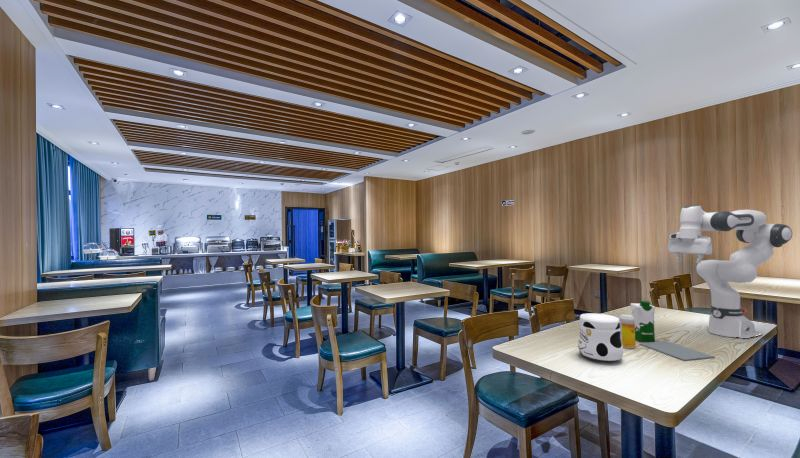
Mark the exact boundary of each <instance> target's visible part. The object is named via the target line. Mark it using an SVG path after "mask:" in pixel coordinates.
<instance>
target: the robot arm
mask: <svg viewBox="0 0 800 458" xmlns="http://www.w3.org/2000/svg"><path fill="white" fill-rule="evenodd" d="M766 215H767V214H765V213H764V212H762V211H760V210H755V209H754V210H753V209H737V210H733V211H729V210H728V211H726V210H725V211H715V212H714V211H713V212H706V211H704V210H703V209H702V206H701V205H699V204H695V205H694V204H693V205H685V206H683V207H682V208H681V211H680V215H679V223H680V224H679V225H680V227H679V230H678V231H677V232H675V233H672V234H669V240H668V244H667V251H668V252H669V253H674V256H675V258H676V262H680V263H681V262H683V258H681V255H682V254H690V255H691V254H692V255H697V258H696V259H695V260H694V263H695V264H696V269H695V270H696V273H697V274H698V276H699V277H701V278H702V279H703V280H704V281H705V282H706V285H707V286H708V288H709V290H710V297H711V305H710V308H709V309H710V313H711V314H710V315H709V319H708V326H706V330H708V332H709V333H711V334H714V335H717V336H722V337H728V338H736V337H739V338H738V339H743V338H749V337H753V336H756V335H759V334H762V333H761V332H759V331H756V326H755V324H754V322H753V321H751V320H750V319H748V317H746V316H745V315H744V313H746V314H747V312H748V309H747V308H741V295H740V292H738V291H737V290H736V289H734V288H733V287H732V286H731V284H730V283H736V284H743V283H744V284H745V283H748V284H749V283H752V282H753V281H755V280H756V278H757V275H758V271H757V269H756V268H757V267H759V266H761V265H763V264H765V263H766V262H767V261H769V260H770V259H771V257H773V255H774V248H781V247H783V245H785V244H787V243H788V242H789V241H790V240H792V237H793V230H792V228H791V227H790V226H789V225H787V224H784V223H783V224H782V223H767V220H768V219H767V218H768V217H767V216H766ZM732 230H735V236H736V238H737V240H738V241H739V242H741V243H744V244H745V243H746V244H748V245H745V246H744V247H742V248H740V249H739V250H737V251H735V252H733V253H731V254H730V256H729V260H724V259H723V260H721V259H720V260H719V259H706V260H705V259H704V260H703V258H704V257H705V255H706V256H707V255H708V256H709V255H712V253H713V245H712V241H713V239H712V238H711V237H710V236H709V235H702V232H730V231H732ZM749 339H750V338H749Z"/></svg>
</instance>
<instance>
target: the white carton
mask: <svg viewBox="0 0 800 458" xmlns="http://www.w3.org/2000/svg"><path fill="white" fill-rule="evenodd" d="M630 309H631V315H632V316H634V319H635V341H638V342H640V343H649V342H656V340H655V339H656V337H655V310H656V306H654V305H651V303H650V301H647V300H640V301H639V303H635V302H634V303H633V302H631V303H630Z"/></svg>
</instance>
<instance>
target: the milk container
mask: <svg viewBox="0 0 800 458" xmlns="http://www.w3.org/2000/svg"><path fill="white" fill-rule="evenodd" d="M577 348H578V352H579V353H580V354H581V355H582V357H585V358H586V359H589V360H592V361H596V362H604V363H614V362H619V361H621V360H622V359H623V356H624V347H623V346H622V343H621V339H620V317H617V316H614V315H611V314H605V313H593V312H592V313H590V312H589V313H582V314H580V315H579V338H578V342H577Z"/></svg>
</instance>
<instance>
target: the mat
mask: <svg viewBox="0 0 800 458" xmlns="http://www.w3.org/2000/svg"><path fill="white" fill-rule="evenodd" d="M638 345H639V346H642V347H644V348H647V349H650V350H653V351H655V352H658V353H661V354H663V355H667V356H669V357H672V358H675V359H677V360H680V361H682V362H690V361H698V360H707V359H708V360H709V359H715V357H716V356H714V355H711V354H708V353H705V352H702V351H699V350H695V349H692V348H691V347H687V346H683V345H681V344H677V343H674V342H673V341H672V342H671V341H669V340H662V341H655V342H640V343H639V344H638Z"/></svg>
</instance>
